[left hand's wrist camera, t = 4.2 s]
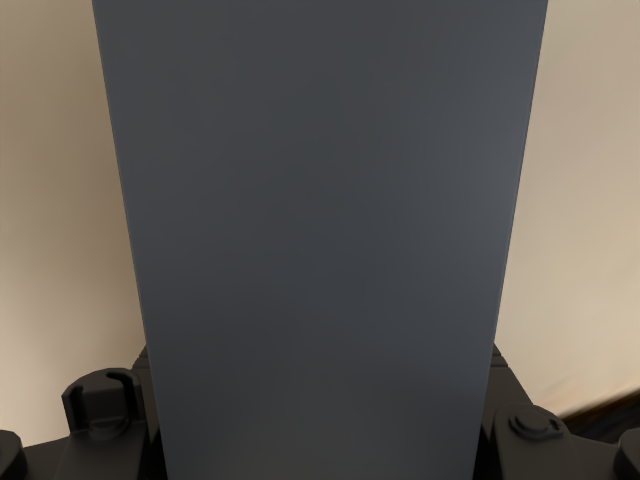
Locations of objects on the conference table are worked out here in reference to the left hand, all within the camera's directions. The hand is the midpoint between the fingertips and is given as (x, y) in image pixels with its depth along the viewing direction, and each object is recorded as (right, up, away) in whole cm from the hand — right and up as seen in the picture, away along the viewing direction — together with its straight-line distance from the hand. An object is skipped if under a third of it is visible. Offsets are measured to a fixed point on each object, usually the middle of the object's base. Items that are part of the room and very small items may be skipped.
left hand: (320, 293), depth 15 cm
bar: (0, -24, +10) cm, 26 cm away
